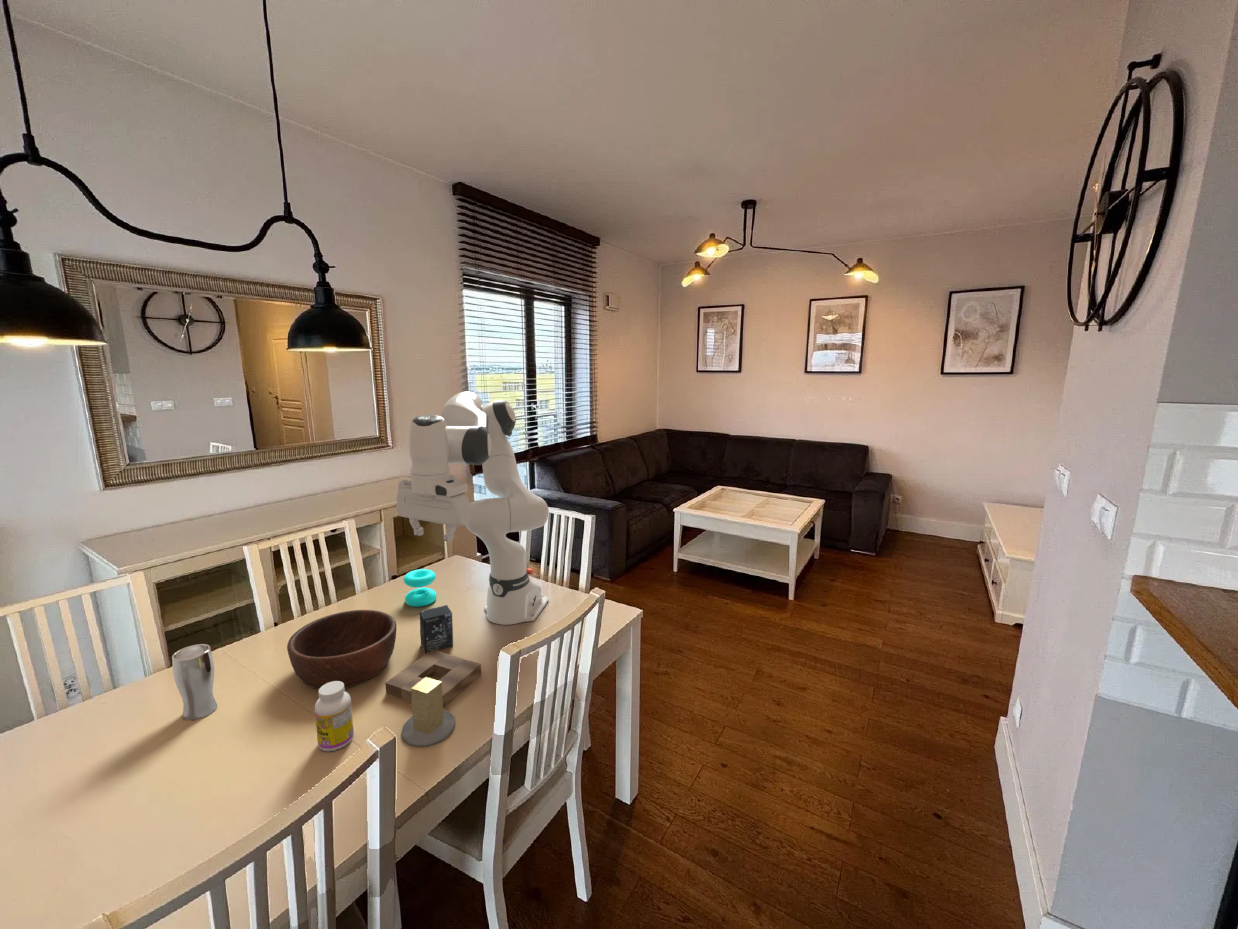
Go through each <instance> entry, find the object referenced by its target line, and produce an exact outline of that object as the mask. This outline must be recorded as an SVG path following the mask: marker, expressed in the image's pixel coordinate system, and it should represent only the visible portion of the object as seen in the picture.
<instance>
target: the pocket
mask: <svg viewBox="0 0 1238 929" xmlns="http://www.w3.org/2000/svg"><path fill="white" fill-rule="evenodd" d="M481 675H482V664H481V663H478V662H475V661H473V660H468V659H465V658H462V657H459V656H455V655H452V654H449V653H445V652H442V651H439V650H431V651H430V652H428V653H425V654H423V656H421V657H420V658H419V659H417V660H416V661H414V662H413V663H412V664H410V665H409V666H407V667H406V668H404V669H403V670H401V671H400V672H399V673H397V674H395V675H394V676H393V677H391V678H390V679H388V680H387V681H386V682H384V683H385V685H384V686H385V694H386V695H388V696H391V697H393V698H398V699H399V700H403V701H406V702H408V703H411V704H412V694H411V688H412V687H413V686H415V685H416V684H417V683H419V682H420V681H421V680H422V679H424V678H425V677H428V678H431V679H432V677H433V676H438V677H440V679H438V680H437V681H441V682H442V699H443V708H445V707H446V706H447V705H448V704H449V703H450V702H452V700H453V699H455V698H456V697H458V695H459V694H461V693H462V692H463V691H464V690H465V689H466V688H468V687H469V686H470V685H471V684H472V683H473V682H474V681H476V680H477V679H478V678H479V677H480V676H481Z"/></svg>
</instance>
